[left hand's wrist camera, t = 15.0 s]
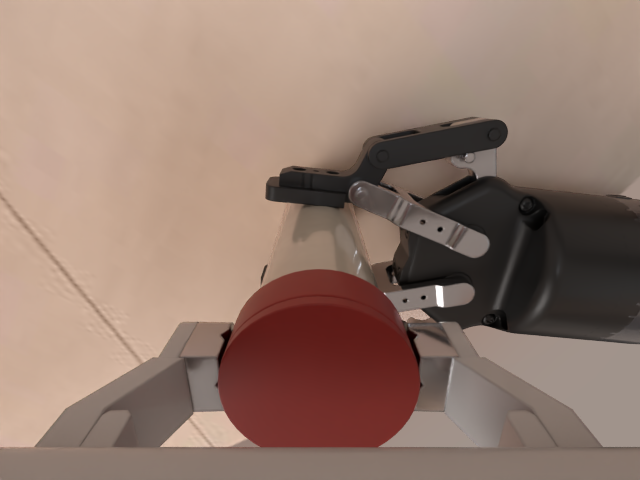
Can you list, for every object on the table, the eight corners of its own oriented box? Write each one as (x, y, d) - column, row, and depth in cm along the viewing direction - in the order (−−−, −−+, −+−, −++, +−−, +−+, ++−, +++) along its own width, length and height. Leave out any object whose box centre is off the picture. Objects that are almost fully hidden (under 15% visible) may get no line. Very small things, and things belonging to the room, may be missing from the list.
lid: (399, 256, 9) (416, 290, 8) (408, 399, 11) (424, 452, 10) (215, 279, 10) (193, 318, 8) (253, 416, 12) (242, 470, 10)
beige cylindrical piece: (354, 232, 25) (403, 423, 10) (293, 239, 25) (255, 437, 10) (347, 170, 23) (395, 291, 9) (283, 179, 23) (221, 311, 9)
